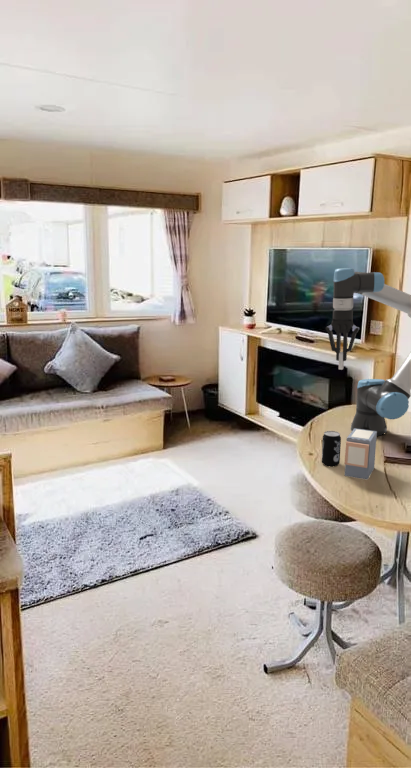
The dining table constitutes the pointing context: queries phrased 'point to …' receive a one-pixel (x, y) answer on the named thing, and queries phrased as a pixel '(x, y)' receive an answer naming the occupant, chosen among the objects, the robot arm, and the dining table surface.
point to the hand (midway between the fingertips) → (341, 368)
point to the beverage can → (331, 448)
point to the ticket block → (369, 439)
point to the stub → (356, 454)
